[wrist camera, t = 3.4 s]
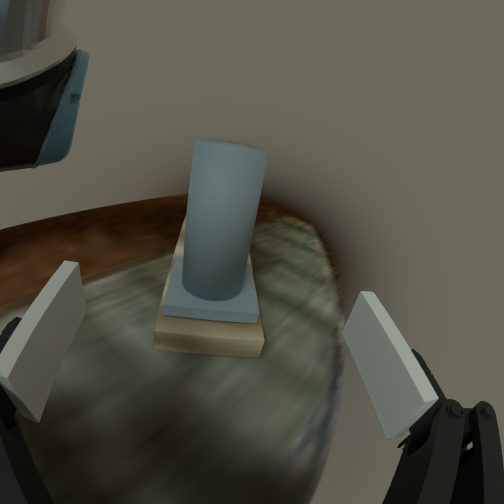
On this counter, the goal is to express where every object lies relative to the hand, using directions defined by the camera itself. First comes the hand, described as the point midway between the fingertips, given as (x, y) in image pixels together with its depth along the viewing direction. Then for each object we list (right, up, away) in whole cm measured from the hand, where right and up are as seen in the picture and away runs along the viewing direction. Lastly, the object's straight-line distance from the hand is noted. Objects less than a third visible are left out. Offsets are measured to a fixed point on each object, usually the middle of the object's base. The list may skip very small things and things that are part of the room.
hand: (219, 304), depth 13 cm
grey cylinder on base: (-2, -1, +11) cm, 12 cm away
